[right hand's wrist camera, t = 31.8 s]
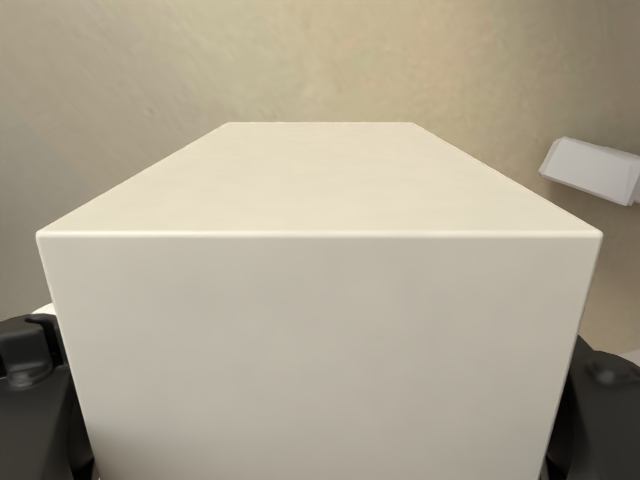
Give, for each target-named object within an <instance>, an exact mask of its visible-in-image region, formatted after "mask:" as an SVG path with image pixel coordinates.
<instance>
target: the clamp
mask: <svg viewBox="0 0 640 480" xmlns="http://www.w3.org/2000/svg"><path fill="white" fill-rule="evenodd" d="M538 172H539V174H540V175H541V176H542V177H543V178H545V179H547V180H551V181H554V182H558V183H561V184H564V185H567V186H570V187H572V188H575V189H578V190H581V191H584V192H587V193H589V194H592V195H595V196H598V197H601V198H604V199H606V200H609V201H612V202H615V203H618V204H620V205H623V206H626V205H628V206H631V205H632V204H633V202H636V203H640V156H639V155H635V154H632V153H628V152H624V151H621V150H617V149H614V148H610V147H606V146H599V145H595V144H592V143H588V142H584V141H581V140H577V139H574V138H570V137H566V136H564V137H561V138H558V139H557V140H555V141H554V142H553V144H552V146H551V148H550V150H549V152H548V154H547V156H546V158H545V160H544V162H543V163H542V165H541V167H540V169H539V171H538Z"/></svg>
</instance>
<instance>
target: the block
mask: <svg viewBox="0 0 640 480" xmlns="http://www.w3.org/2000/svg"><path fill="white" fill-rule="evenodd" d="M36 241H37V245H38V249H39V253H40V256H41V260H42V264H43V268H44V271H45V275H46V279H47V283H48V287H49V290H50V294H51V298H52V302H53V305H54V309H55V313H56V317H57V320H58V324H59V328H60V332H61V335H62V339H63V343H64V347H65V350H66V354H67V358H68V362H69V365H70V369H71V373H72V377H73V380H74V384H75V388H76V392H77V395H78V399H79V403H80V407H81V410H82V414H83V418H84V422H85V426H86V429H87V433H88V437H89V441H90V444H91V448H92V452H93V456H94V459H95V463H96V467H97V471H98V474H99V478H100V480H539V479H540V475H541V472H542V468H543V464H544V460H545V457H546V453H547V449H548V445H549V442H550V438H551V434H552V430H553V426H554V423H555V419H556V415H557V411H558V408H559V404H560V400H561V396H562V393H563V389H564V385H565V381H566V378H567V374H568V370H569V366H570V362H571V359H572V355H573V351H574V347H575V344H576V340H577V336H578V332H579V329H580V325H581V321H582V317H583V313H584V310H585V306H586V302H587V298H588V295H589V291H590V287H591V283H592V280H593V276H594V272H595V268H596V264H597V261H598V257H599V253H600V249H601V246H602V242H603V233H602V231H600V230H598V229H596V228H595V227H593V226H591V225H590V224H588V223H586V222H584V221H583V220H581V219H579V218H577V217H576V216H574V215H572V214H570V213H569V212H567V211H565V210H564V209H562V208H560V207H558V206H557V205H555V204H553V203H551V202H550V201H548V200H546V199H544V198H543V197H541V196H539V195H538V194H536V193H534V192H532V191H531V190H529V189H527V188H525V187H524V186H522V185H520V184H519V183H517V182H515V181H513V180H512V179H510V178H508V177H506V176H505V175H503V174H501V173H499V172H498V171H496V170H494V169H493V168H491V167H489V166H487V165H486V164H484V163H482V162H480V161H479V160H477V159H475V158H474V157H472V156H470V155H468V154H467V153H465V152H463V151H461V150H460V149H458V148H456V147H454V146H453V145H451V144H449V143H448V142H446V141H444V140H442V139H441V138H439V137H437V136H435V135H434V134H432V133H430V132H428V131H427V130H425V129H423V128H422V127H420V126H418V125H416V124H415V123H413V122H227V123H225V124H224V125H222V126H220V127H218V128H217V129H215V130H213V131H211V132H210V133H208V134H206V135H205V136H203V137H201V138H199V139H198V140H196V141H194V142H192V143H191V144H189V145H187V146H185V147H184V148H182V149H180V150H178V151H177V152H175V153H173V154H171V155H170V156H168V157H166V158H164V159H163V160H161V161H159V162H157V163H156V164H154V165H152V166H150V167H149V168H147V169H145V170H144V171H142V172H140V173H138V174H137V175H135V176H133V177H131V178H130V179H128V180H126V181H124V182H123V183H121V184H119V185H117V186H116V187H114V188H112V189H110V190H109V191H107V192H105V193H103V194H102V195H100V196H98V197H96V198H95V199H93V200H91V201H89V202H88V203H86V204H84V205H82V206H81V207H79V208H77V209H76V210H74V211H72V212H70V213H69V214H67V215H65V216H63V217H62V218H60V219H58V220H56V221H55V222H53V223H51V224H49V225H48V226H46V227H44V228H42V229H41V230H39V231H37V233H36Z"/></svg>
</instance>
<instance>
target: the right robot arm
mask: <svg viewBox="0 0 640 480" xmlns="http://www.w3.org/2000/svg"><path fill="white" fill-rule="evenodd" d="M0 480H99V474H98V471H97V467H96V463H95V459H94V456H93V452H92V448H91V444H90V441H89V437H88V433H87V429H86V426H85V422H84V418H83V414H82V410H81V407H80V403H79V399H78V395H77V392H76V388H75V384H74V380H73V377H72V373H71V369H70V365H69V362H68V358H67V354H66V350H65V347H64V343H63V339H62V335H61V332H60V328H59V324H58V320H57V317H56V315H53V314H46V313H37V314H27V315H22V316H18V317H14V318H10V319H8V320H5V321H2V322H0ZM539 480H640V367H639V366H637V365H636V364H634V363H633V362H631V361H628V360H626V359H624V358H622V357H619V356H617V355H614V354H610V353H606V352H602V351H594V350H593V349H592V348H591V347H590V346H589V345H588V344H587V343H586V342H585V341H584V340H583V339H582V338H581V337H580V336H579V335H578V336H577V340H576V344H575V347H574V351H573V355H572V359H571V362H570V366H569V370H568V374H567V378H566V381H565V385H564V389H563V393H562V396H561V400H560V404H559V408H558V411H557V415H556V419H555V423H554V426H553V430H552V434H551V438H550V442H549V445H548V449H547V453H546V457H545V460H544V464H543V468H542V472H541V475H540V479H539Z"/></svg>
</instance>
